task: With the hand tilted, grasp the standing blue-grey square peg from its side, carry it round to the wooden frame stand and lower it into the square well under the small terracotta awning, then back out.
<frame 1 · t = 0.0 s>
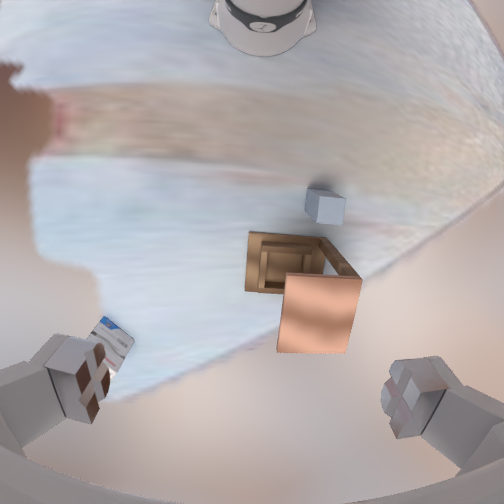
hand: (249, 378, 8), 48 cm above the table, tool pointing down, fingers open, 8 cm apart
peg: (317, 200, 55), on the table
wooden frame stand: (282, 263, 58), on the table
ink box: (115, 333, 63), on the table
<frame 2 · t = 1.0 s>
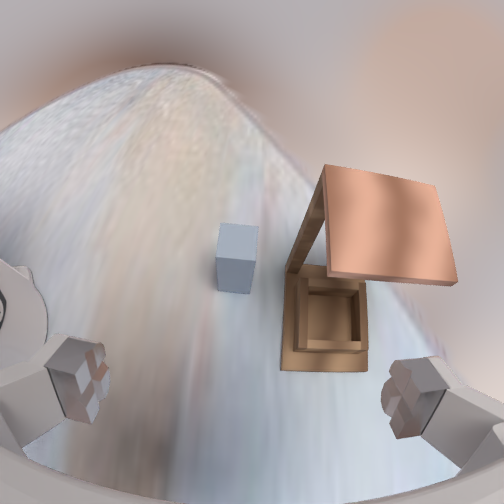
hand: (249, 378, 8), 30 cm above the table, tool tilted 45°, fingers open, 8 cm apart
peg: (235, 278, 41), on the table
wooden frame stand: (325, 322, 39), on the table
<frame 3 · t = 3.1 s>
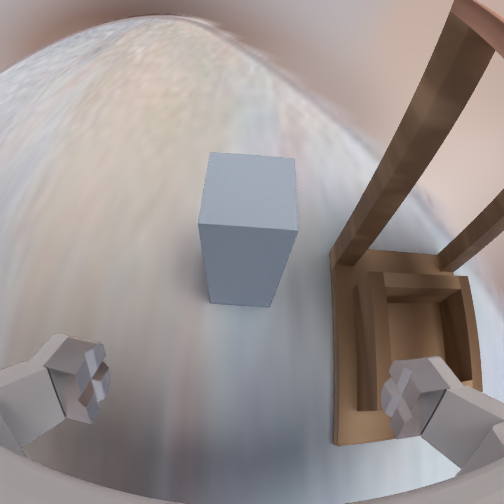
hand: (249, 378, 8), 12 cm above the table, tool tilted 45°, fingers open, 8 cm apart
peg: (241, 278, 22), on the table
wooden frame stand: (403, 349, 20), on the table
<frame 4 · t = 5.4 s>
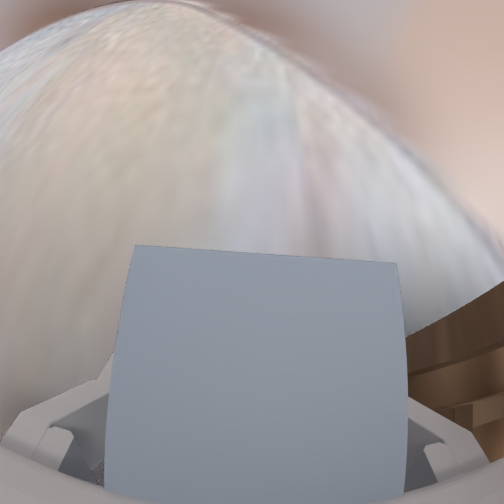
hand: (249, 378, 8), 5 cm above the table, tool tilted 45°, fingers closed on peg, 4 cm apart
peg: (242, 402, 12), on the table, touching gripper
wooden frame stand: (465, 471, 10), on the table
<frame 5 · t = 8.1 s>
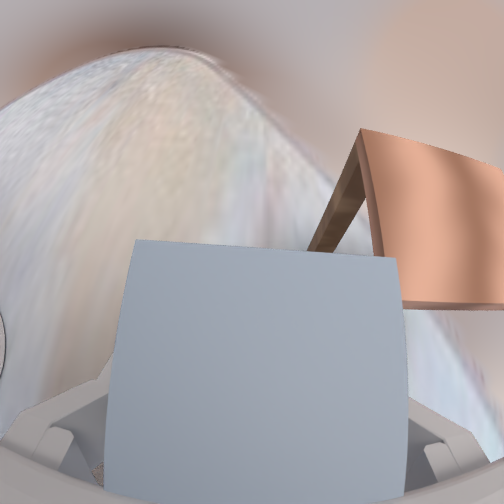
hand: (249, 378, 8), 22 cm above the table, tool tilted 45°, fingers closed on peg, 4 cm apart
peg: (242, 400, 13), point 16 cm above the table, touching gripper
wooden frame stand: (345, 349, 30), on the table
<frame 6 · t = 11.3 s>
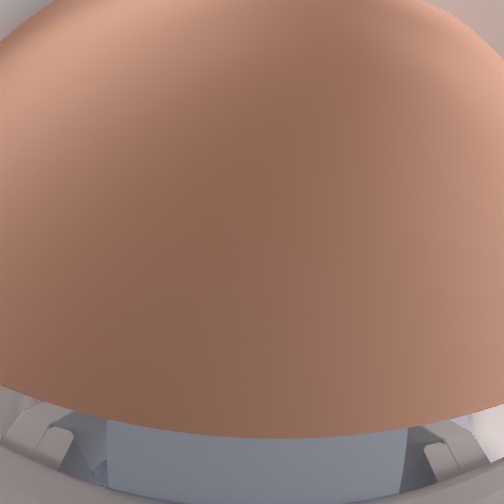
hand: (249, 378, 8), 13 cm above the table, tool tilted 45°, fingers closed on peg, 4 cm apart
peg: (243, 387, 13), point 8 cm above the table, tilted 8°, touching gripper
wooden frame stand: (238, 377, 20), on the table
when the fingers open (7 cm above the table, at t = 13.2 s): peg stays where it is, resting on wooden frame stand.
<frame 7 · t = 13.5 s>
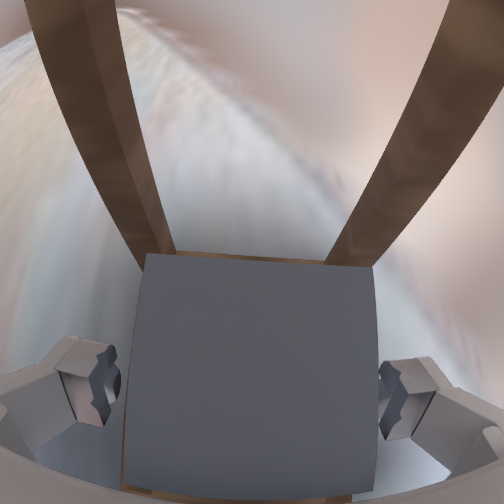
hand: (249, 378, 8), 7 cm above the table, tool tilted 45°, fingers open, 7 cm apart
peg: (241, 387, 14), point 1 cm above the table, touching wooden frame stand
wooden frame stand: (241, 402, 14), on the table
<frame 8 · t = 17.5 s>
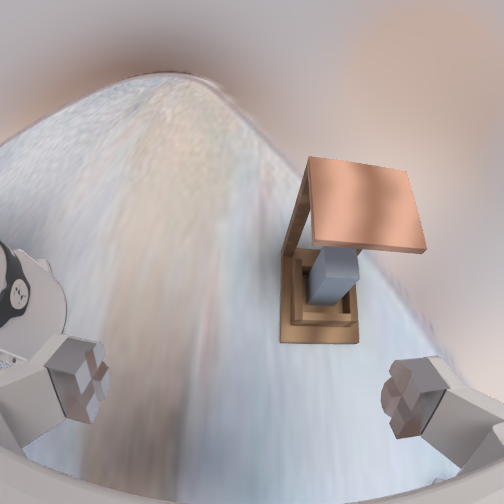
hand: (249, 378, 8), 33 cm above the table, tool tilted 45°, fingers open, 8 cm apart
peg: (319, 292, 44), point 1 cm above the table, touching wooden frame stand
wooden frame stand: (318, 299, 45), on the table
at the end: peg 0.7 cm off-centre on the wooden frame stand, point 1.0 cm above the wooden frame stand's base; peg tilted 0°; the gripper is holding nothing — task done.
